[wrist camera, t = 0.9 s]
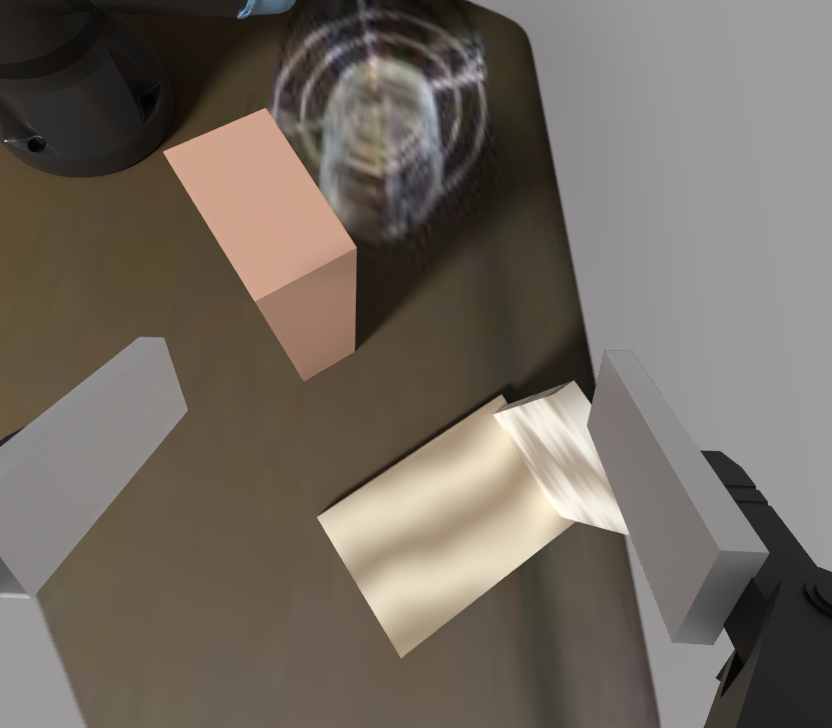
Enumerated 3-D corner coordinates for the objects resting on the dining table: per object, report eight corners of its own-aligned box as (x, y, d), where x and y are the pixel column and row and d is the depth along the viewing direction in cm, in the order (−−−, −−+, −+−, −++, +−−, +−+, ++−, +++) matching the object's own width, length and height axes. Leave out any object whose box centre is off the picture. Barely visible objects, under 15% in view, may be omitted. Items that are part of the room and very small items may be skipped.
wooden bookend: (318, 515, 37) (299, 545, 23) (496, 396, 41) (564, 366, 27) (398, 650, 35) (426, 761, 22) (574, 514, 39) (684, 540, 26)
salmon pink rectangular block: (256, 303, 39) (162, 151, 20) (307, 276, 41) (265, 107, 21) (303, 381, 39) (254, 301, 19) (354, 351, 40) (356, 247, 20)
